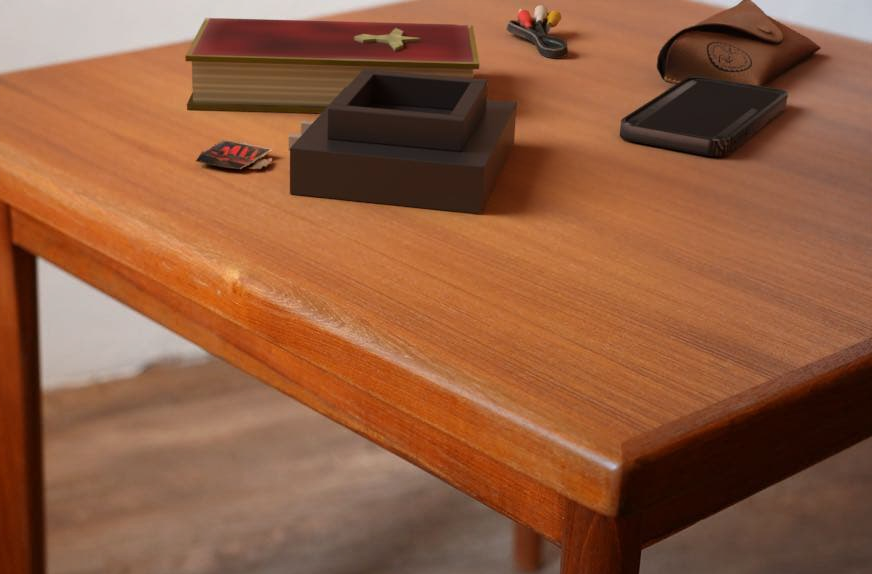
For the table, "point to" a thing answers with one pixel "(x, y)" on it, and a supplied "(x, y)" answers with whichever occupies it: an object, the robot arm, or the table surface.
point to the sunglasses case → (734, 48)
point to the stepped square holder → (405, 143)
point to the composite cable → (539, 31)
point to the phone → (704, 116)
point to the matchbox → (235, 155)
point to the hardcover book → (314, 60)
